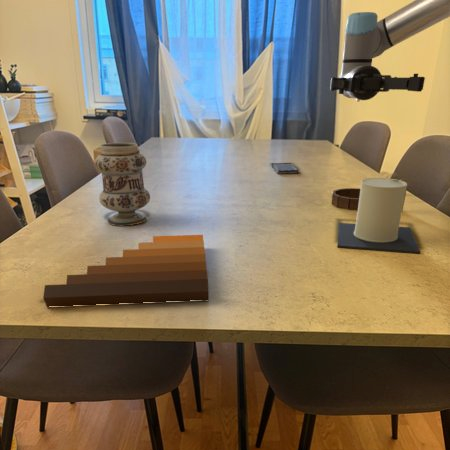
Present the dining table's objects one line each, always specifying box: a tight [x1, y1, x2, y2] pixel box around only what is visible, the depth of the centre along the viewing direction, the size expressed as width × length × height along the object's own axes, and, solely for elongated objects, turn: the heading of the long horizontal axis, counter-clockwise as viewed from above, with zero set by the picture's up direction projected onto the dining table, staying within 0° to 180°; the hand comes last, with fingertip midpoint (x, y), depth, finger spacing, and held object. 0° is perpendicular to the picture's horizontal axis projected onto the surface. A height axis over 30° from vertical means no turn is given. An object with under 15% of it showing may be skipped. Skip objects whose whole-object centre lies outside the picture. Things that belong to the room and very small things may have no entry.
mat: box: [336, 222, 421, 255], centre depth 94 cm, size 16×16×1 cm
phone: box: [271, 162, 299, 175], centre depth 163 cm, size 8×1×15 cm
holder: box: [331, 178, 410, 212], centre depth 117 cm, size 19×13×8 cm
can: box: [354, 177, 408, 243], centre depth 91 cm, size 9×9×12 cm
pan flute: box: [42, 234, 210, 308], centre depth 77 cm, size 25×3×25 cm
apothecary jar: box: [94, 142, 151, 226], centre depth 103 cm, size 12×12×18 cm
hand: (387, 84), depth 88 cm, fingers open, 13 cm apart
